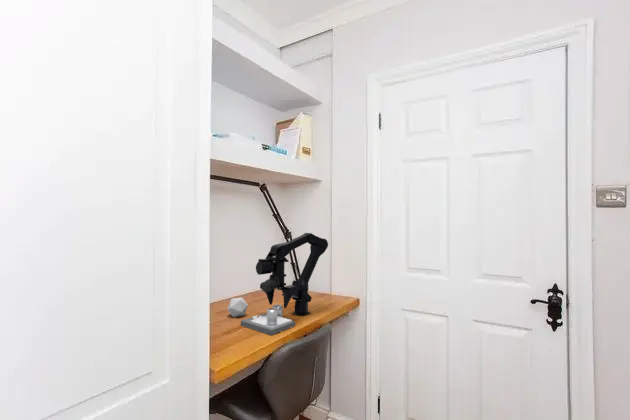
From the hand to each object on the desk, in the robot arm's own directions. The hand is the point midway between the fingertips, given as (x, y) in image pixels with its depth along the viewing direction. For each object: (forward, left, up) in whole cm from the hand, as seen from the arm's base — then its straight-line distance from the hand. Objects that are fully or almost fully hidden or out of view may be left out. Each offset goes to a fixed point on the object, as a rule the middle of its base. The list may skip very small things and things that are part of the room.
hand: (277, 306), depth 152 cm
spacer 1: (+13, +9, -3) cm, 16 cm away
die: (+9, -18, -6) cm, 21 cm away
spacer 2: (0, 0, -6) cm, 6 cm away
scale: (+10, +3, -6) cm, 12 cm away
